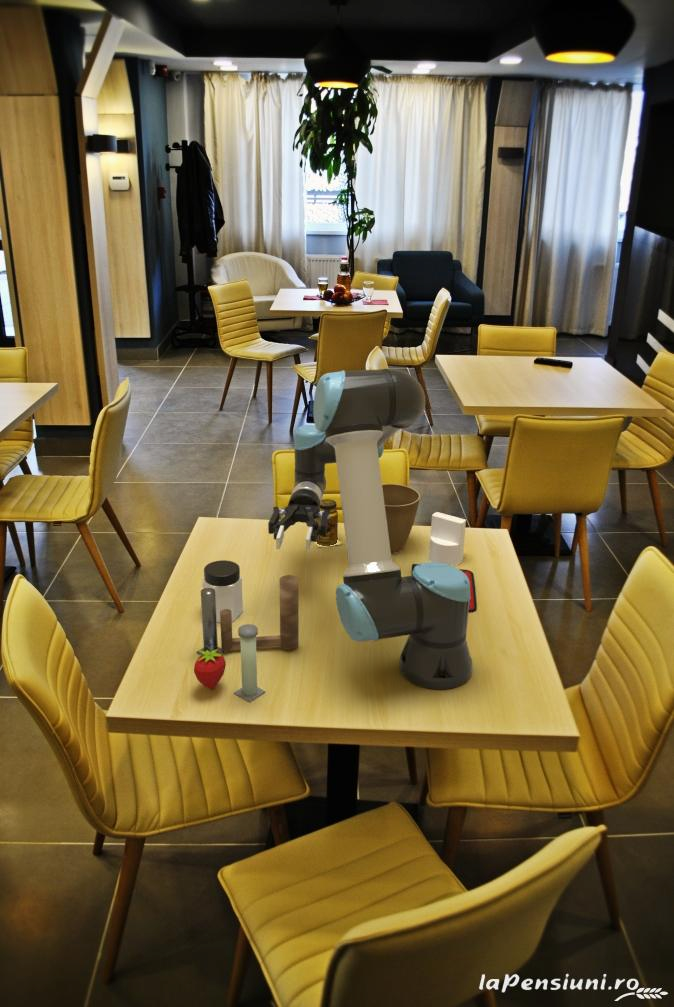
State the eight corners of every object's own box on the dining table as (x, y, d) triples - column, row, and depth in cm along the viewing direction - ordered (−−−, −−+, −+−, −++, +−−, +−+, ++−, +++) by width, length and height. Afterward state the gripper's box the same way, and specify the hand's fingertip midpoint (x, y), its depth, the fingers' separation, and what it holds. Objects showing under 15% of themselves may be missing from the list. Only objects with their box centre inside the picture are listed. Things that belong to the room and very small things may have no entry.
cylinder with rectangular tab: (422, 560, 225) (425, 519, 221) (439, 548, 232) (441, 508, 227) (453, 569, 221) (456, 527, 216) (468, 557, 227) (472, 516, 223)
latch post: (265, 692, 170) (264, 628, 164) (249, 702, 167) (247, 638, 161) (249, 683, 173) (248, 621, 167) (234, 693, 169) (231, 629, 164)
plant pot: (353, 541, 235) (354, 488, 229) (400, 532, 241) (402, 480, 234) (378, 564, 222) (380, 508, 216) (427, 554, 228) (430, 499, 222)
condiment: (317, 548, 231) (318, 508, 226) (309, 535, 238) (309, 496, 233) (343, 545, 233) (344, 505, 228) (334, 533, 240) (334, 493, 235)
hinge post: (225, 651, 183) (222, 590, 177) (210, 660, 180) (207, 598, 174) (211, 644, 186) (208, 584, 180) (196, 652, 183) (192, 591, 177)
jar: (241, 603, 203) (240, 558, 198) (244, 621, 195) (242, 574, 190) (203, 606, 201) (201, 561, 196) (204, 624, 194) (202, 577, 189)
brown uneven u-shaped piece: (221, 653, 181) (218, 587, 175) (221, 643, 185) (218, 578, 179) (299, 648, 183) (299, 583, 177) (297, 638, 187) (297, 574, 181)
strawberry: (188, 696, 168) (186, 653, 164) (206, 675, 175) (204, 634, 171) (215, 702, 167) (213, 659, 163) (232, 682, 173) (231, 640, 169)
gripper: (343, 518, 204) (335, 562, 183) (266, 515, 206) (250, 557, 184) (344, 489, 202) (336, 530, 180) (266, 486, 203) (249, 526, 182)
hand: (292, 544), depth 182 cm, fingers open, 6 cm apart
